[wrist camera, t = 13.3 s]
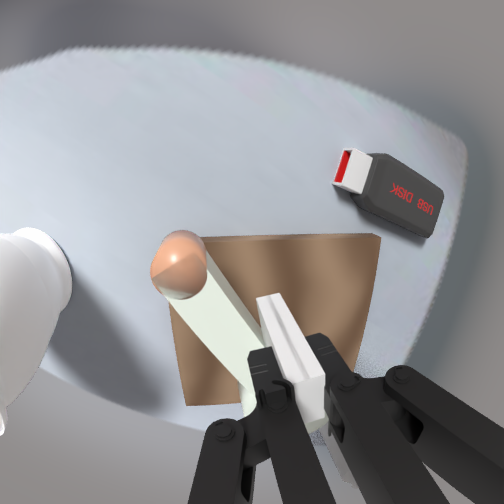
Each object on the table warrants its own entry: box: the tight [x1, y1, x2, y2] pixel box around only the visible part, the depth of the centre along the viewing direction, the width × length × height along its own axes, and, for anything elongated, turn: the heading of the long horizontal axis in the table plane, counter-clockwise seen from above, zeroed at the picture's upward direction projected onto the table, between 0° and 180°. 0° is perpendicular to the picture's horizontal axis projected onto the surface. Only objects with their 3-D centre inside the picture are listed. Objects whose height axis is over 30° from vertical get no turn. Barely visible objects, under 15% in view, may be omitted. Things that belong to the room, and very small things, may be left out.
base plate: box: [169, 233, 381, 406], centre depth 24 cm, size 18×17×2 cm
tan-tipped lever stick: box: [150, 230, 329, 434], centre depth 16 cm, size 16×6×4 cm, turn 30°
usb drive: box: [332, 147, 444, 238], centre depth 22 cm, size 5×12×3 cm, turn 72°
